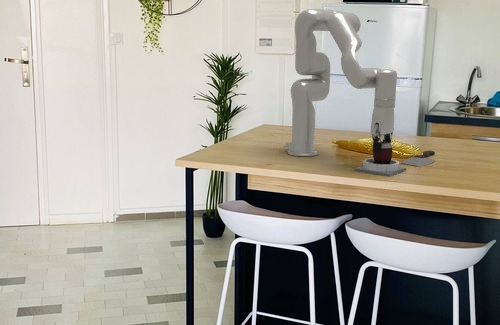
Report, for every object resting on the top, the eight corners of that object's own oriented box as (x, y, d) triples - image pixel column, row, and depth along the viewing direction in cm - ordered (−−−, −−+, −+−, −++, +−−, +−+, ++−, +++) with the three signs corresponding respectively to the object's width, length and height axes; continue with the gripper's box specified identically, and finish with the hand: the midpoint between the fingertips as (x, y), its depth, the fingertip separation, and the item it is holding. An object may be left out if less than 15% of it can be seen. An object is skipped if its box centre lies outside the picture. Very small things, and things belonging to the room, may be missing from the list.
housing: (354, 170, 224) (355, 161, 223) (372, 165, 235) (373, 156, 234) (389, 176, 215) (389, 167, 215) (406, 170, 226) (406, 161, 225)
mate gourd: (391, 166, 220) (394, 125, 217) (369, 165, 222) (372, 124, 219) (391, 162, 227) (393, 122, 224) (370, 161, 229) (372, 122, 226)
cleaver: (422, 154, 261) (422, 149, 261) (445, 156, 256) (445, 151, 255) (399, 166, 237) (399, 160, 236) (423, 169, 232) (424, 163, 231)
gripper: (386, 101, 229) (383, 147, 232) (363, 104, 216) (361, 153, 219) (404, 102, 224) (401, 149, 228) (383, 106, 211) (379, 155, 215)
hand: (381, 150), depth 224 cm, fingers closed on mate gourd, 7 cm apart
